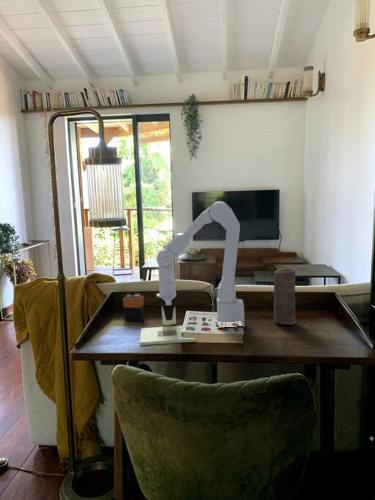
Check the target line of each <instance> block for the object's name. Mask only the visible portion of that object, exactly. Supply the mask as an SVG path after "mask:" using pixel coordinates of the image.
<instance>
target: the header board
mask: <svg viewBox="0 0 375 500" xmlns="http://www.w3.org/2000/svg"><path fill="white" fill-rule="evenodd" d="M182 326H183V325H172V326H171V325H162V326H159V327H158V326H156V327H141V328H140V336H139V337H140V338H139V346H147V345H162V344H163V345H164V344H178V343H191V342H196V337H195V338H183V337H182V336H181V330H182Z"/></svg>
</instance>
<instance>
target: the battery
mask: <svg viewBox="0 0 375 500" xmlns="http://www.w3.org/2000/svg"><path fill="white" fill-rule="evenodd" d="M144 302H145V300H144V295H141V294H140V293H136V294H134V295H133V294H132V295H131V294H129V293H128V294H126V296H125V297H123V299H122V303H123V315H124V316H123V317H124V321H125V322H138V323H139V322H142V321H143V320H144V319H145V317H146V315H145V303H144Z"/></svg>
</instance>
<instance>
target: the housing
mask: <svg viewBox="0 0 375 500" xmlns="http://www.w3.org/2000/svg"><path fill="white" fill-rule="evenodd" d="M161 316H162V317H161V318H162V326H169V325H170V326H171V325H176V324H177V319H176V306H175V307H174V311H173V318H172V320H166V318H165V313H164V310H163V308H162V307H161Z"/></svg>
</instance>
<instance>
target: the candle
mask: <svg viewBox="0 0 375 500" xmlns="http://www.w3.org/2000/svg"><path fill="white" fill-rule="evenodd" d="M273 321H274V322H275V323H277V324H280V325H291V326H292V325H296V270H295V269H294V268H282V267H281V268H278V269H277V270H274V272H273Z"/></svg>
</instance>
